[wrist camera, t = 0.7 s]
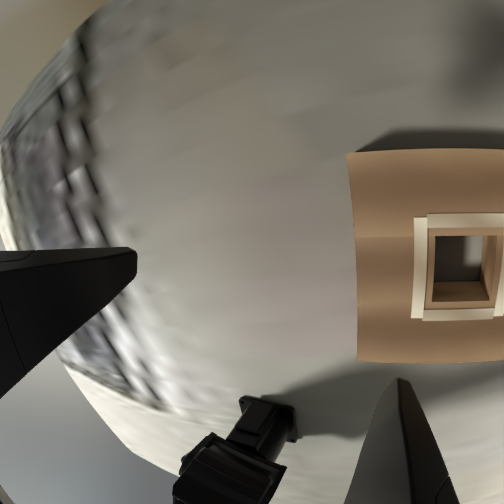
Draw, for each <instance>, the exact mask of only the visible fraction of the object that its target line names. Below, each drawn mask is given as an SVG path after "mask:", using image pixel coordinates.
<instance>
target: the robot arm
mask: <svg viewBox="0 0 504 504" xmlns="http://www.w3.org/2000/svg"><path fill="white" fill-rule="evenodd" d="M137 257H138V256H137V252H136V251H134V250H133V249H131V248H129V247H108V248H80V249H54V250H37V251H35V250H29V251H0V399H1V398H2V397H3V396H4V395H5V394H6V393H7V392H8V391H9V390H10V389H11V388H12V387H13V386H14V385H16V383H18V382H19V381H20V380H21V379H22V378H23V377H24V376H25V375H26V374H27V373H28V372H29V371H30V370H32V369H33V368H34V367H35V366H36V365H37V364H38V363H40V362H41V361H42V360H43V359H44V358H45V357H46V356H47V355H49V354H50V353H51V352H52V351H53V350H54V349H55V348H57V347H58V346H59V345H60V344H61V343H62V342H64V341H65V340H66V339H67V338H68V337H69V336H71V335H72V334H73V333H74V332H75V331H76V330H78V329H79V328H80V327H81V326H82V325H84V324H85V323H86V322H87V321H88V320H90V319H91V318H92V317H93V316H94V315H96V314H97V313H98V312H99V311H101V310H102V309H103V308H104V307H105V306H106V305H108V304H109V303H110V302H111V301H112V300H113V299H114V298H115V297H116V296H117V295H118V294H119V293H120V292H121V291H122V290H123V289H124V288H125V287H126V286H127V285H128V284H129V283H130V282H131V281H132V280H133V279H134V278H135V276H136V274H137ZM239 404H240V408H241V411H242V416H241V417H240V419H239V420H238V422H237V423H236V424H235V427H234V428H233V430H232V431H231V432H230V434H229V435H228V436H227V438H226V440H225V439H223V438H221V437H219V436H217V434H215V433H213V432H211V433H210V434H209V435H208V436H206V437H205V438H204V439H203V440H202V441H201V442H200V443H199V444H198V445H197V446H196V447H195V448H194V449H193V450H192V451H190V452H189V453H187V454H186V455H184V456H183V457H182V459H181V462H182V465H181V468H180V470H179V475H180V477H179V479H178V480H177V481H176V482H175V484H174V485H173V492H172V495H173V504H269V502H270V500H271V499H272V497H273V495H274V493H275V491H276V489H277V487H278V485H279V483H280V481H281V479H282V477H283V475H284V473H285V471H286V469H287V467H286V466H284V465H279V464H277V463H275V461H276V459H277V457H278V455H279V453H280V452H281V450H282V448H283V446H284V444H285V442H286V441H287V442H291V443H296V441H297V439H298V438H297V429H296V421H295V412H294V409H293V408H292V407H289V406H284V405H278V404H273V403H268V402H263V401H258V400H254V399H249V398H245V397H241V398H240V399H239ZM448 475H449V473H448V471H447V468H446V465H445V463H444V460H443V458H442V455H441V453H440V450H439V448H438V445H437V443H436V440H435V438H434V435H433V433H432V431H431V428H430V426H429V424H428V421H427V419H426V417H425V414H424V412H423V410H422V408H421V405H420V403H419V401H418V399H417V397H416V394H415V392H414V390H413V388H412V386H411V384H410V382H409V381H407V380H404V379H402V378H396V379H395V380H394V381H393V382H392V383H391V385H390V386H389V387H388V388H387V390H386V391H385V392H384V393H383V395H382V396H381V398H380V400H379V402H378V405H377V408H376V411H375V414H374V417H373V419H372V422H371V425H370V427H369V430H368V433H367V435H366V438H365V440H364V443H363V446H362V449H361V453H360V456H359V459H358V463H357V466H356V469H355V473H354V476H353V479H352V482H351V485H350V488H349V491H348V494H347V496H346V499H345V502H344V504H460V503H459V501H458V498H457V495H456V492H455V490H454V487H453V484H452V481H451V479H450V477H449V476H448ZM0 504H14V503H13V501H12V500H11V499H10V498H9V496H8V495H7V494H6V492H5V491H4V490H3V488H2V487H1V485H0Z"/></svg>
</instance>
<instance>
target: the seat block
mask: <svg viewBox="0 0 504 504" xmlns="http://www.w3.org/2000/svg"><path fill="white" fill-rule="evenodd" d="M346 157H347V165H348V173H349V181H350V189H351V199H352V209H353V220H354V233H355V248H356V268H357V304H358V332H357V361H363V362H384V363H465V362H484V361H498V360H504V150H499V149H466V148H439V149H404V150H385V151H370V152H357V153H346ZM476 235H484V236H483V252H482V263H481V273H480V281H462V282H433V279H434V262H435V236H476Z"/></svg>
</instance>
